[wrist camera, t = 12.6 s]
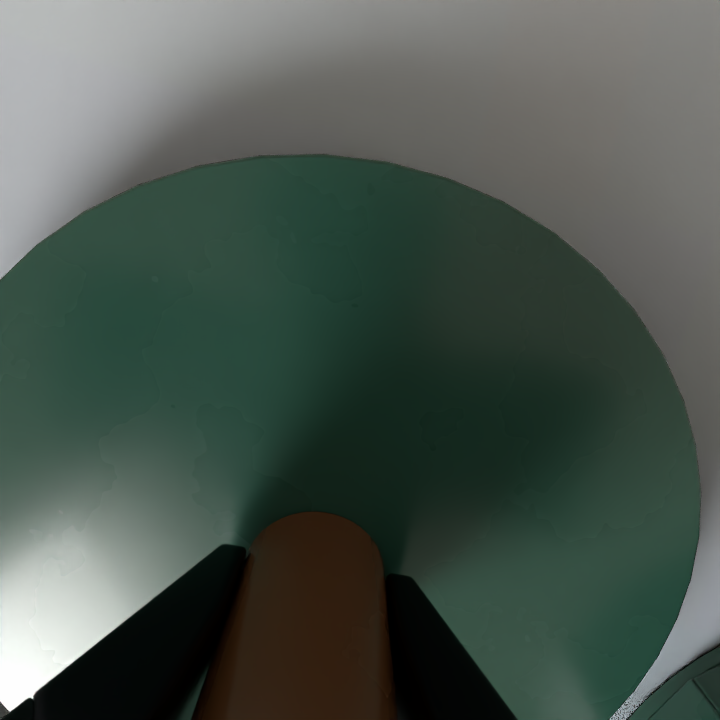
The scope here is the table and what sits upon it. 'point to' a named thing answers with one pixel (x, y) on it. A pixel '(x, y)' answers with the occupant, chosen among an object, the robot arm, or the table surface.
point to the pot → (687, 693)
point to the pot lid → (338, 439)
